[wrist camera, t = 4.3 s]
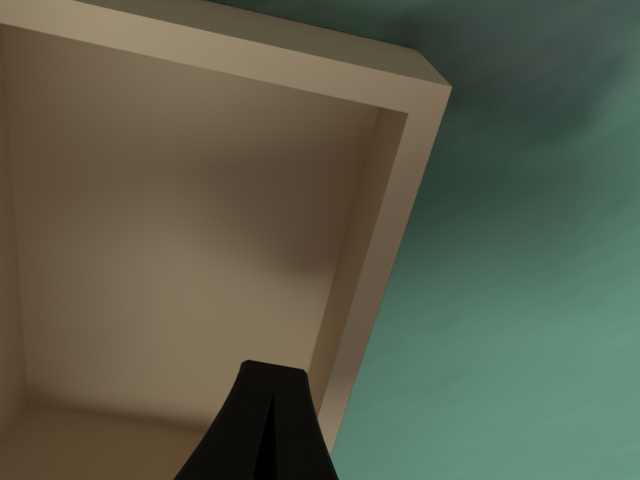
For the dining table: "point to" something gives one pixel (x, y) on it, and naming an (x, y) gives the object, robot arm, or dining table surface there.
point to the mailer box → (189, 219)
